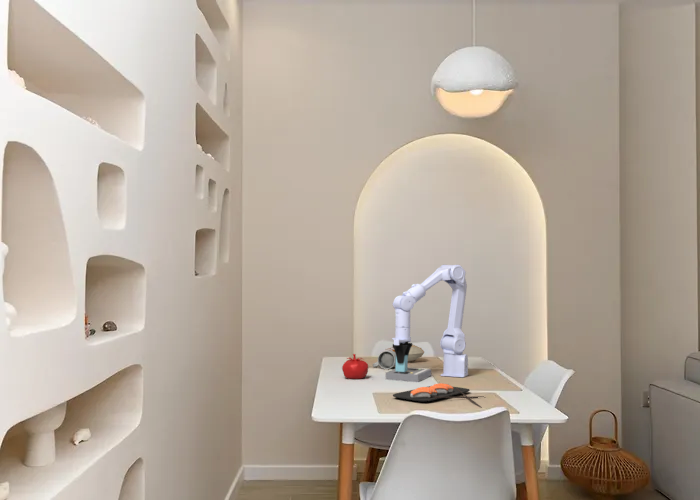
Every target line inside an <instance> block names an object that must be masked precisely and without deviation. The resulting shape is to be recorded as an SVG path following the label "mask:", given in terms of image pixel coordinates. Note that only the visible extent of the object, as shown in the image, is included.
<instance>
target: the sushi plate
mask: <svg viewBox="0 0 700 500" xmlns="http://www.w3.org/2000/svg"><path fill="white" fill-rule="evenodd" d="M469 392H470V388H467V387H466V388H465V387H458V386H452V385H451V384H449V383H448V384H447V383H439V382H438V383H434V384H433V385H430V386H420V387H417V388H415V389H410V390H406V391H405V390H404V391H401V392H395V393H394V394H392V396H393V397H395V398H398V399H402V400H405V399H406V401H411V400H412V402H417V401H418V403H427V401H428V402H431V401H436V400H437V401H438V400H441V399H468V400H469V401H470V402H471V403H472V404H473V405H475V406H477V407H479V408H480V409H483V407H482V406H481V405H479V404H478V403H477V402H476V401H475V400H473V399H479V398H478V397H484V396H485V395H484V396H483V395H482V396H480V395H477V396H468V395H466V394H465V393H469ZM456 395H463V396H456ZM484 398H485V397H484Z"/></svg>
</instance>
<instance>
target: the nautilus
mask: <svg viewBox="0 0 700 500" xmlns="http://www.w3.org/2000/svg"><path fill="white" fill-rule="evenodd" d="M389 350H391V351H394V352H395V350H394V348H392V347H388V348H385V351H389ZM424 353H425V351H424V349H422V347H420V346H417V345H415V344H412V347H411V349H410V351H409V355H408V363H412V362H414V361H416V360H419V359H420V358H422V357H423V355H424Z"/></svg>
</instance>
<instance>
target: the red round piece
mask: <svg viewBox="0 0 700 500" xmlns="http://www.w3.org/2000/svg"><path fill="white" fill-rule="evenodd" d="M356 357H357V356H356V353H352V357H346V361H345V362H344V363H343V365H342V367H341V369H342V373H343V376H344V377H345V379H349V380H362V379H364V378H365V377H366V376H367V374H368V372H369V365H368V363H367V362H366V361H365V359H364V358H362V357H358V358H356ZM347 359H348V360H347Z"/></svg>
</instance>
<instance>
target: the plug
mask: <svg viewBox="0 0 700 500" xmlns="http://www.w3.org/2000/svg"><path fill="white" fill-rule="evenodd" d="M408 363H409V362H408V355H405V357H404V362H403V363H398V362H397V357H396V366H395V369H396V371H398V372H406V371H407V368H409V366H408Z"/></svg>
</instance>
